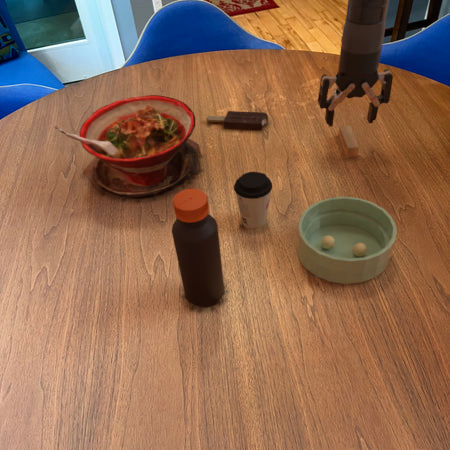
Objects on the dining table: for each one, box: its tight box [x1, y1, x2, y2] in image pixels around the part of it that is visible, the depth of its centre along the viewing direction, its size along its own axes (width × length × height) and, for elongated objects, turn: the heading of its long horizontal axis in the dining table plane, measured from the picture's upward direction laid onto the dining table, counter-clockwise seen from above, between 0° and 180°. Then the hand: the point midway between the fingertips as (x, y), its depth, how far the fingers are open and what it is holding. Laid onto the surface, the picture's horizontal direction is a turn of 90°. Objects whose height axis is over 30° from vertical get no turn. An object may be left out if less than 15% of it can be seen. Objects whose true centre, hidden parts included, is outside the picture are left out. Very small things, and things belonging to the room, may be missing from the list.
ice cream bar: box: [205, 110, 269, 131], centre depth 116 cm, size 5×2×15 cm
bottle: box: [171, 188, 225, 308], centre depth 74 cm, size 7×7×20 cm
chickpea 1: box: [321, 236, 335, 249], centre depth 85 cm, size 2×2×2 cm
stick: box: [337, 124, 360, 159], centre depth 106 cm, size 2×9×2 cm, turn 3°
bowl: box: [296, 196, 398, 285], centre depth 83 cm, size 16×16×6 cm
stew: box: [54, 94, 202, 200], centre depth 99 cm, size 28×24×16 cm
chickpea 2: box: [353, 243, 367, 257], centre depth 83 cm, size 2×2×2 cm
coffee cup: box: [233, 171, 273, 230], centre depth 89 cm, size 7×7×10 cm
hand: (349, 123), depth 102 cm, fingers open, 8 cm apart
